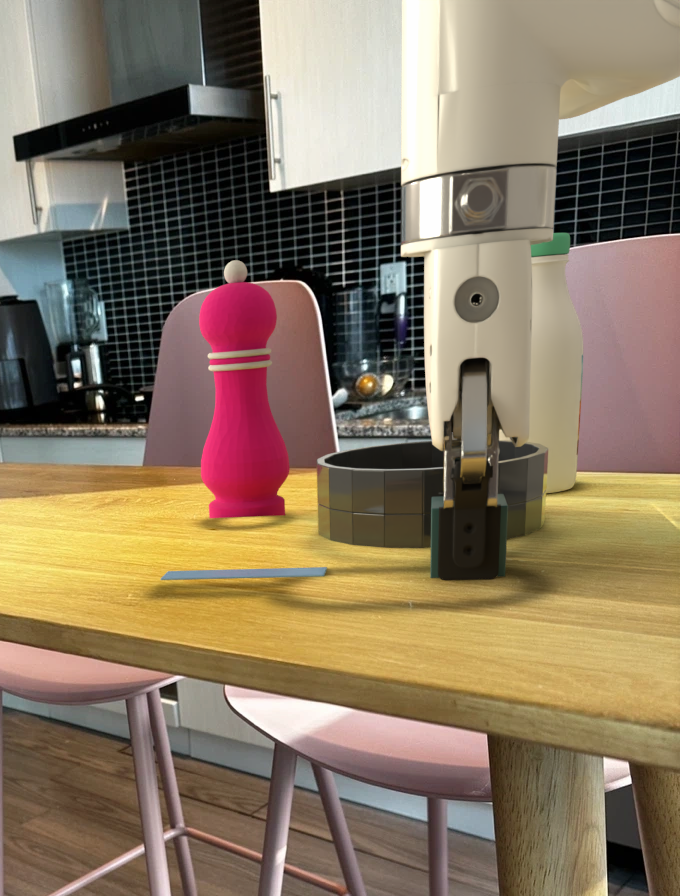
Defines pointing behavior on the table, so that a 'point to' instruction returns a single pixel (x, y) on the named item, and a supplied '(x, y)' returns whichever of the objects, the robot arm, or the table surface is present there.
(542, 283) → the milk bottle
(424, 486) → the dark round bowl
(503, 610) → the table surface
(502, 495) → the teal block
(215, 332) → the pepper mill
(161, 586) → the table surface
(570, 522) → the table surface
